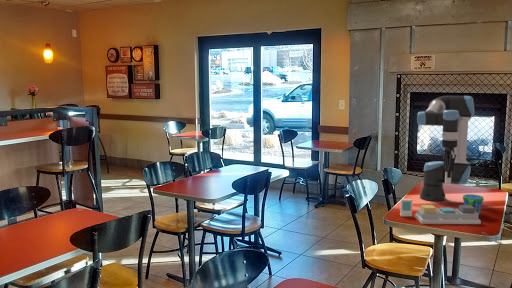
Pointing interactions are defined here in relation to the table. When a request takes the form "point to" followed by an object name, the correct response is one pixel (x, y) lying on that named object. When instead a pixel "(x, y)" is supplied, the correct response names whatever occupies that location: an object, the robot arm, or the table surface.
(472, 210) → the charcoal button
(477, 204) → the snack cup
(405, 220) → the table surface
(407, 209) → the sign
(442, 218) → the board
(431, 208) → the mustard button
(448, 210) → the teal button
